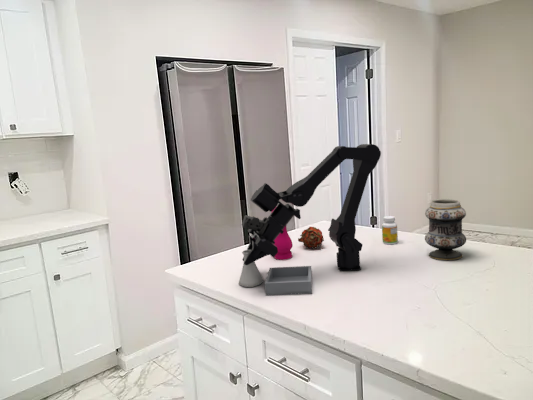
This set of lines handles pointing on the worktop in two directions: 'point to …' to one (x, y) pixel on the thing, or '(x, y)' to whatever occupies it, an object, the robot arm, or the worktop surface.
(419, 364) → the worktop surface
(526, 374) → the worktop surface
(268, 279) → the box
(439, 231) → the apothecary jar
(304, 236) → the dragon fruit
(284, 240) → the pepper mill
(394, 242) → the supplement bottle
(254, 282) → the flask
